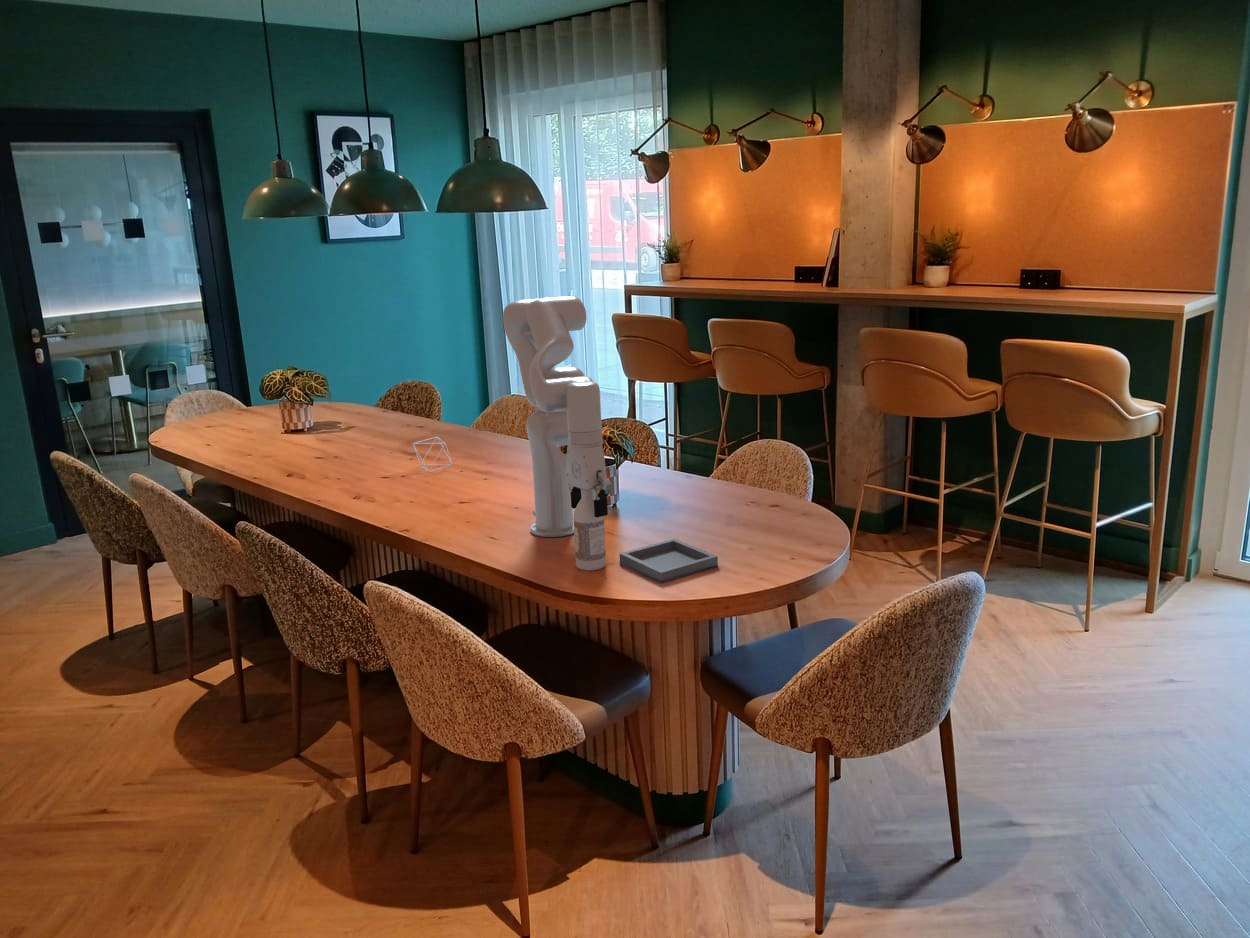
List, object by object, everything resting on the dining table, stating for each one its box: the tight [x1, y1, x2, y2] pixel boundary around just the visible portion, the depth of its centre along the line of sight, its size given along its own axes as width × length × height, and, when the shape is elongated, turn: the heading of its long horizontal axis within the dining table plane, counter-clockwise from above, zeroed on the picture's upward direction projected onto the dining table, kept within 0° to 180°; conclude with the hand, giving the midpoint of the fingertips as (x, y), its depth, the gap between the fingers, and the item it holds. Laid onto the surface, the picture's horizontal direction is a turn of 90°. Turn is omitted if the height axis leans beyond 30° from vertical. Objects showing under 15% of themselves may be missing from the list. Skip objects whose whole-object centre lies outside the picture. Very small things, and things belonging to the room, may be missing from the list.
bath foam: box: [573, 489, 607, 572], centre depth 217 cm, size 7×7×20 cm
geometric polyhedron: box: [412, 436, 453, 473], centre depth 312 cm, size 12×11×9 cm
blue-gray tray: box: [618, 538, 719, 584], centre depth 218 cm, size 16×16×2 cm
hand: (589, 511), depth 216 cm, fingers open, 9 cm apart
